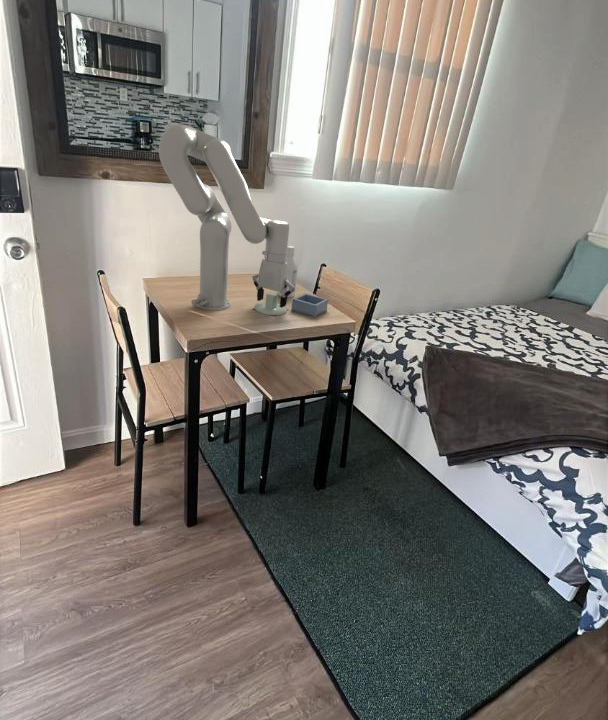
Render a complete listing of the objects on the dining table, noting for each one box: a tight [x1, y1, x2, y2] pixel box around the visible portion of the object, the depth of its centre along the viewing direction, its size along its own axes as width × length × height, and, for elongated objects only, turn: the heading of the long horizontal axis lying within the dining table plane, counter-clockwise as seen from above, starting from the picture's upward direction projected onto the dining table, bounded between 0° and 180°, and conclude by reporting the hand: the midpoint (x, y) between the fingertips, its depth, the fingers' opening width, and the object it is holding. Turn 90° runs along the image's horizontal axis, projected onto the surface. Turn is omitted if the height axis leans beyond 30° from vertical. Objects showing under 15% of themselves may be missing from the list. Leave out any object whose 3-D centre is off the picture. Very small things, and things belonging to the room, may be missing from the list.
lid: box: [253, 292, 288, 316], centre depth 165 cm, size 12×12×6 cm
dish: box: [291, 292, 329, 318], centre depth 170 cm, size 10×10×5 cm
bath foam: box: [277, 245, 298, 298], centre depth 181 cm, size 7×7×20 cm
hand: (271, 303), depth 166 cm, fingers open, 9 cm apart
